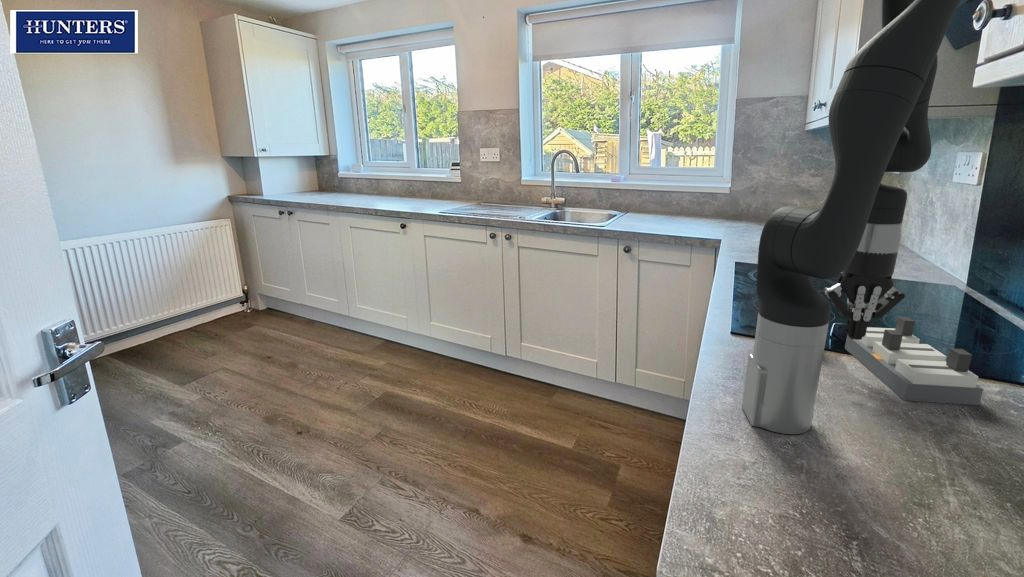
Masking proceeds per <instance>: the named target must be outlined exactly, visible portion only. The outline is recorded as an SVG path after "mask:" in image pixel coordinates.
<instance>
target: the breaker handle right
mask: <svg viewBox="0 0 1024 577" xmlns="http://www.w3.org/2000/svg"><path fill="white" fill-rule="evenodd" d="M972 357H973V354H972V353H970V352H968V351H966V350H965V349H963V348H949V350H948V355H947V358H946V362H947V363H946V365H947V366H949V367H950V368H952V369H953V370H955V371H966V372H968V370H969V369H970V364H971V361H972Z"/></svg>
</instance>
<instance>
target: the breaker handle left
mask: <svg viewBox="0 0 1024 577" xmlns="http://www.w3.org/2000/svg"><path fill="white" fill-rule="evenodd" d="M915 323H916V321H915V320H914V319H912V318H911V317H910V316H909V317H908V316H897V320H896V324H895V328H894V329H895V330H896V331H898V332H899V333H901V334H902V335H909V336H912V335H913V333H914V328H915Z"/></svg>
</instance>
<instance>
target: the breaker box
mask: <svg viewBox="0 0 1024 577" xmlns="http://www.w3.org/2000/svg"><path fill="white" fill-rule="evenodd" d="M885 330H895V328H894V327H893V328H891V327H890V328H889V327H871V326H869V327H868V326H867V330H866V335H865V336H864V337H862V339H861V340H857V339H851V338H850V337H849V336H848V335H847V334H846V339H845V344H844V349H845V351H847V352H848V353H849V354H850V355H851V356H853V357H854V358H855V359H856V360H857V361H859V363H861V365H863V366H864V367H865V368H866V369H867V370H869V371H870V372H871V373H872V374H873V375H875V377H877V378H878V380H880V381H881V382H882V383H883V384H884V385H886V387H888V388H889V389H890V390H891V391H892V392H893V393H895V394H896V395H897V396H898V397H899V398H900V399H902V400H903V401H911V402H913V401H914V402H925V403H938V404H953V405H954V404H955V405H966V406H967V405H970V406H980V403H981V401H982V400H981V399H982V397H983V392H984V388H983V387H981V386H980V385H978V380H979V376H978V375H977V374H975V373H974V372H972V371H971V370H969V369H968V372H966V371H955V370H953V369H952V368H950V367H949V366H947V365H946V363H947V359H948V355H945V354H943V353H942V352H940V351H939V350H938V349H936V348H935V347H932V346H931V345H929V344H928V343H920V342H921V339H920V338H919V337H917V336H916V335H914V334H912V336H909V335H903V336H902V341H901V345H900V350H888V349H887V348H886V347H884V346H883V345H882V340H883V335H884V331H885Z"/></svg>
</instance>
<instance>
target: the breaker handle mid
mask: <svg viewBox="0 0 1024 577" xmlns="http://www.w3.org/2000/svg"><path fill="white" fill-rule="evenodd" d="M902 336H903V335H902V334H901V333H899V332H898V331H896V330H885V331H884V335H883V340H882V345H883V346H884V347H886V348H887V349H888V350H900V345H901V341H902Z"/></svg>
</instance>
